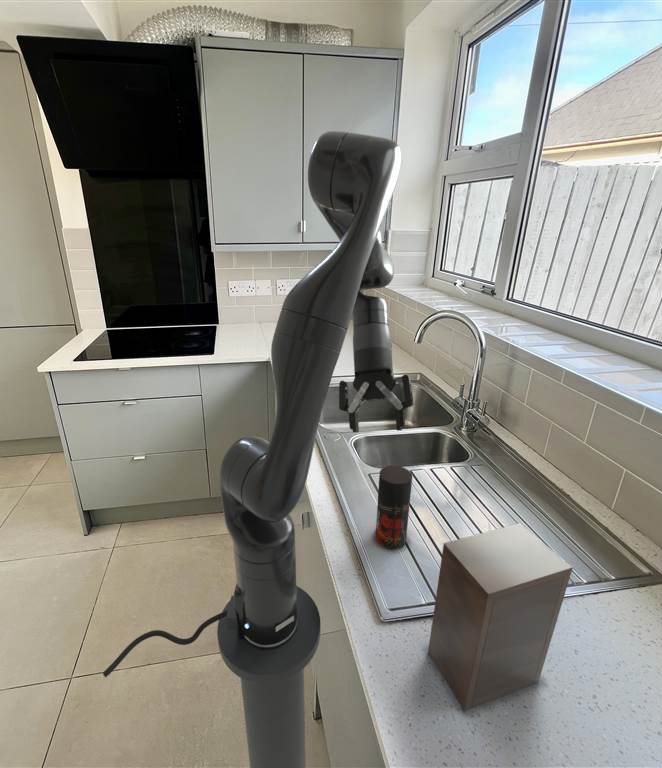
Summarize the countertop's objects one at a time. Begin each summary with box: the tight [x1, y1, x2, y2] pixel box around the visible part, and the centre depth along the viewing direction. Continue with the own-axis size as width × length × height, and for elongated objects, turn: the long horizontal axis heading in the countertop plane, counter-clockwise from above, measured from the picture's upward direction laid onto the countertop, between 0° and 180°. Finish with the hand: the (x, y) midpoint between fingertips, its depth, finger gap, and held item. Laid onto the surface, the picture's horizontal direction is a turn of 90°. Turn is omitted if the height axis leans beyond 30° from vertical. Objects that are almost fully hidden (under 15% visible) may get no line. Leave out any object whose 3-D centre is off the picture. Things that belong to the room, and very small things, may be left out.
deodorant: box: [374, 465, 413, 551], centre depth 77 cm, size 6×6×15 cm
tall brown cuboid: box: [427, 522, 573, 712], centre depth 53 cm, size 8×12×20 cm
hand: (377, 431), depth 79 cm, fingers open, 8 cm apart
